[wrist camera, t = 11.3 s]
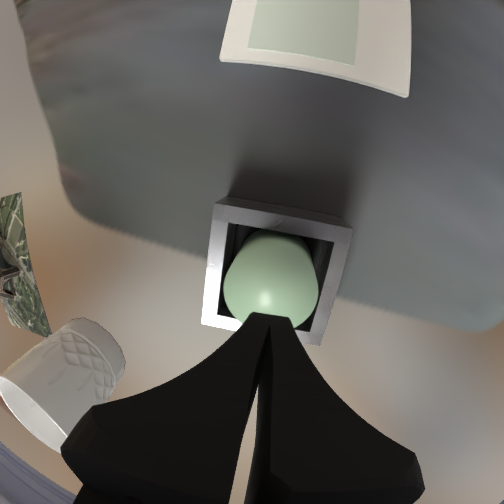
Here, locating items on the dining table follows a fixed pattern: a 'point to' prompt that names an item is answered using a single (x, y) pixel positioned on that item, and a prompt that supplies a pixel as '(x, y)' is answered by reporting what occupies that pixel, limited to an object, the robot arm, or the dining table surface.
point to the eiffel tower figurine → (18, 271)
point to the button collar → (281, 220)
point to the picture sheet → (325, 39)
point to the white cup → (62, 379)
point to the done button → (272, 277)
